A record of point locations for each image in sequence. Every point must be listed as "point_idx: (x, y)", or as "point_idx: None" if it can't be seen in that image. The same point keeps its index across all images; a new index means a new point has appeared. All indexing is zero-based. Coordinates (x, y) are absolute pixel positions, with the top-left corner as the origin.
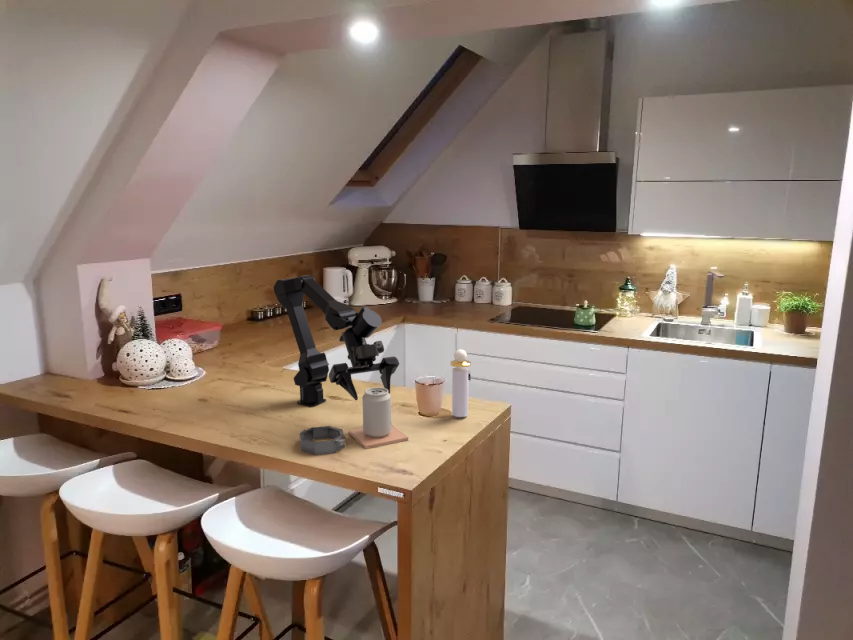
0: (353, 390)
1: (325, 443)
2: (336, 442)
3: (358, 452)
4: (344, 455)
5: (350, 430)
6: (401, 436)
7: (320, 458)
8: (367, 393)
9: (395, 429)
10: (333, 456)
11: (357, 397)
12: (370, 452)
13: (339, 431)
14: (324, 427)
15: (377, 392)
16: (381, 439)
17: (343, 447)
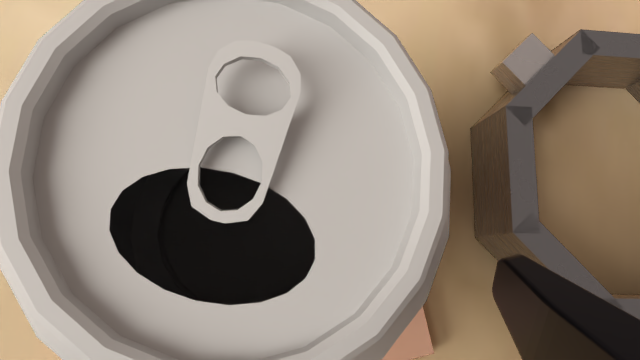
0: (631, 326)
1: (623, 35)
2: (552, 56)
3: (403, 27)
4: (483, 14)
5: (421, 344)
6: None
7: (605, 19)
8: (415, 85)
9: None
10: (540, 21)
11: (511, 262)
12: None
13: (535, 191)
14: (635, 301)
15: (241, 41)
16: None
17: (480, 119)
